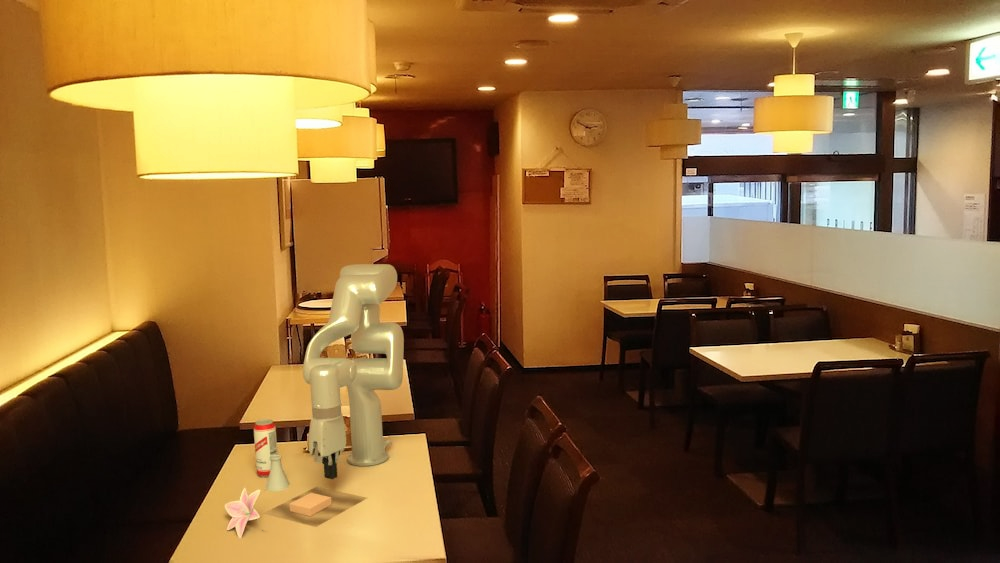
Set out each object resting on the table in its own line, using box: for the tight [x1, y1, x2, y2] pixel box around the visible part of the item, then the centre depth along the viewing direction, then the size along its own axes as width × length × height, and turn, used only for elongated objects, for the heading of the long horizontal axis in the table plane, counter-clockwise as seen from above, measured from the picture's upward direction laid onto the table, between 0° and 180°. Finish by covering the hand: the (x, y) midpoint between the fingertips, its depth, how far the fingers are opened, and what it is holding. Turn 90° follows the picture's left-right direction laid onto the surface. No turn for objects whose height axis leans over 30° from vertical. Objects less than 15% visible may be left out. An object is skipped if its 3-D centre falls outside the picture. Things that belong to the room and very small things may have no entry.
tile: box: [289, 493, 332, 516], centre depth 213 cm, size 2×7×8 cm
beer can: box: [253, 418, 279, 478], centre depth 241 cm, size 6×6×16 cm
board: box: [263, 486, 368, 528], centre depth 215 cm, size 20×18×1 cm
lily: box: [224, 487, 261, 539], centre depth 205 cm, size 12×12×10 cm
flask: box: [264, 454, 291, 492], centre depth 228 cm, size 7×7×10 cm
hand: (331, 477), depth 220 cm, fingers closed
